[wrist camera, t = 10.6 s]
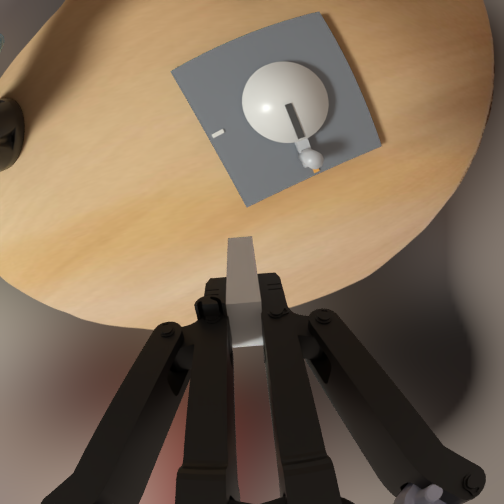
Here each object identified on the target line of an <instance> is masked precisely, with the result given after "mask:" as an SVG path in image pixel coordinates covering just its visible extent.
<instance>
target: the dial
mask: <svg viewBox="0 0 504 504" xmlns="http://www.w3.org/2000/svg"><path fill="white" fill-rule="evenodd" d="M242 107H243V112H244V114H245V117H246V119H247V121H248V122H249V124H250V125H251V126H252V127H253V129H254V130H255V131H257V132H258V133H259V134H261V135H262V136H264V137H266V138H268V139H270V140H273V141H276V142H281V143H294V142H295V145H296V148H297V150H298V159H299V160H300V161H301V162H302V164H303V166H304V167H305V168H306V167H309V168H311V169H319V168H320V167H321V166H322V165H323V162H324V158H323V156H322V154H320V153H319V152H317V151H315V150H312V149H311V146H310V143H309V141H308V138H309V137H310V136H312V135H313V134H315V133H316V132H317V131H318V130H319V129H320V127H321V126H322V125H323V123H324V121H325V119H326V117H327V113H328V107H329V101H328V95H327V91H326V89H325V87H324V85H323V83H322V81H321V80H320V79H319V78H318V76H317V75H316V74H315V73H314V72H312V71H311V70H310V69H308V68H306V67H304V66H302V65H300V64H297V63H293V62H274V63H270V64H268V65H265V66H263V67H261V68H260V69H258V70H257V71H256V72H255V73H254V74H253V75H252V76H251V77H250V78H249V80H248V81H247V83H246V85H245V88H244V91H243V95H242Z"/></svg>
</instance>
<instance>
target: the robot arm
mask: <svg viewBox="0 0 504 504" xmlns="http://www.w3.org/2000/svg"><path fill="white" fill-rule="evenodd" d="M3 45H4V37H3V35H2V34H0V52H1V50H2V47H3ZM23 138H24V119H23V114H22V111H21V108H20V106H19V105H18V103H17V102H16V101H14V100H13V99H10V98H5V99H0V172H1V171H3V170H6V169H8V168H9V167H11V166H12V165H13V164H14V162H15V161H16V159H17V158H18V156H19V153H20V151H21V148H22V144H23ZM194 306H195V310H196V314H197V318H198V320H197V321H196V322H195V323H193V324H191V325H188V326H184V327H181V326H180V325H179V324H178V323H175V322H165V323H162V324H160V325H158V326H157V327H156V328H155V329H154V331H153V333H152V334H151V336H150V338H149V339H148V341H147V342H146V344H145V346H144V347H143V349H142V351H141V352H140V354H139V356H138V357H137V359H136V361H135V362H134V364H133V366H132V367H131V369H130V371H129V372H128V374H127V376H126V378H125V379H124V381H123V383H122V384H121V386H120V388H119V390H118V391H117V393H116V395H115V397H114V398H113V400H112V402H111V404H110V406H109V407H108V409H107V411H106V412H105V415H104V416H103V418H102V420H101V421H100V423H99V425H98V427H97V429H96V431H95V433H94V434H93V436H92V438H91V440H90V442H89V444H88V446H87V448H86V449H85V451H84V453H83V455H82V457H81V459H80V461H79V463H78V465H77V467H76V469H75V471H74V473H73V474H72V475H71V476H70V477H68V478H67V479H66V480H65V481H64V482H63V483H62V484H60V485H59V486H58V487H57V488H56V489H55V490H54V491H52V492H51V493H50V494H49V495H48V496H46V497H45V498H44V499H43V501H42V502H41V504H139V502H140V500H141V497H142V495H143V493H144V490H145V488H146V485H147V483H148V480H149V478H150V475H151V473H152V470H153V468H154V465H155V463H156V460H157V458H158V455H159V453H160V450H161V448H162V446H163V443H164V440H165V438H166V436H167V433H168V431H169V429H170V426H171V423H172V421H173V418H174V416H175V414H176V411H177V409H178V406H179V404H180V402H181V399H182V397H183V394H184V392H185V390H186V387H187V385H188V382H189V380H190V387H189V397H188V407H187V419H186V430H185V443H184V458H183V464H182V466H181V467H180V468H179V470H178V472H177V478H176V496H175V504H250V503H244V502H240V493H239V487H238V480H237V456H236V433H235V432H236V431H235V402H234V365H233V364H234V363H233V351H232V347H245V346H257V345H263V346H264V363H265V367H266V375H267V384H268V392H269V400H270V408H271V417H272V425H273V433H274V441H275V449H276V458H277V467H278V475H279V487H280V497H281V498H278V499H275V500H272V501H269V502H265V503H262V504H354V503H353V502H351V501H349V500H347V499H345V498H342V497H340V492H339V488H338V484H337V479H336V474H335V470H334V466H333V463H332V460H331V458H330V457H329V456H328V455H327V453H326V450H325V446H324V442H323V437H322V433H321V428H320V424H319V420H318V416H317V412H316V408H315V403H314V399H313V395H312V391H311V387H310V383H309V378H308V374H307V371H306V367H305V362H304V359H306V362H307V364H308V365H309V367H310V368H311V370H312V372H313V373H314V375H315V377H316V378H317V380H318V382H319V383H320V385H321V386H322V388H323V390H324V391H325V393H326V395H327V396H328V398H329V399H330V401H331V403H332V404H333V406H334V407H335V409H336V411H337V412H338V414H339V416H340V417H341V419H342V421H343V422H344V424H345V425H346V427H347V428H348V430H349V432H350V433H351V435H352V437H353V438H354V440H355V441H356V443H357V444H358V446H359V448H360V449H361V451H362V453H363V454H364V456H365V457H366V459H367V460H368V462H369V464H370V465H371V467H372V468H373V470H374V471H375V473H376V475H377V476H378V478H379V479H380V481H381V482H382V483H383V485H384V486H385V487H386V488H387V489H388V490H389V491H390V492H391V493H392V494H393V495H394V496H395V497H397V498H396V499H395V501H394V504H463V503H465V502H467V501H469V500H472V499H473V498H475V497H476V496H478V495H479V494H480V492H481V491H482V490H483V488H484V485H485V482H486V476H485V473H484V470H483V469H482V468H481V467H479V466H478V465H476V464H474V463H472V462H471V461H469V460H467V459H465V458H464V457H462V456H460V455H458V454H456V453H455V452H453V451H451V450H450V449H448V448H446V447H445V446H443V445H442V443H441V442H440V441H439V439H438V438H437V437H436V435H435V434H434V433H433V432H432V430H431V429H430V428H429V426H428V425H427V424H426V423H425V421H424V420H423V419H422V417H421V416H420V415H419V414H418V412H417V411H416V410H415V409H414V407H413V406H412V405H411V404H410V402H409V401H408V400H407V398H405V396H404V395H403V394H402V392H401V391H400V390H399V389H398V387H397V386H396V385H395V384H394V382H393V381H392V380H391V379H390V377H389V376H388V375H387V374H386V373H385V371H384V370H383V369H382V368H381V366H380V365H379V364H378V363H377V362H376V360H375V359H374V358H373V357H372V356H371V354H370V353H369V352H368V351H367V350H366V348H365V347H364V346H363V345H362V343H361V342H360V341H359V340H358V339H357V338H356V336H355V335H354V334H353V333H352V332H351V331H350V329H349V328H348V327H347V326H346V324H345V323H344V322H343V321H342V320H341V319H340V317H339V316H338V315H337V314H336V313H334V312H333V311H331V310H329V309H317V310H315V311H313V312H312V313H311V314H310V315H309V316H303V315H298V314H295V313H293V312H292V311H291V310H290V308H288V306H287V303H286V299H285V295H284V291H283V287H282V284H281V280H280V277H279V276H278V275H277V274H276V273H263V274H257V268H256V261H255V254H254V247H253V240H252V236H249V237H237V238H228V252H227V277H223V278H210V279H209V281H208V282H207V283H206V287H205V294H204V297H201V298H199V299H198V300H197V301H196V303H195V305H194Z"/></svg>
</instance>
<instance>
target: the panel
mask: <svg viewBox="0 0 504 504" xmlns="http://www.w3.org/2000/svg"><path fill="white" fill-rule="evenodd" d="M274 62H293V63H297V64H300V65H302V66H304V67H306V68H308V69H310V70H311V71H312V72H314V73H315V74H316V75H317V76H318V78H319V79H320V80H321V81H322V83H323V85H324V87H325V89H326V91H327V95H328V101H329V107H328V113H327V117H326V119H325V121H324V123H323V125H322V126H321V127H320V129H319V130H318V131H317V132H316V133H315V134H313V135H312V136H310V137H309V138H308V141H309V143H310V146H311V149H312V150H315V151H317V152H319V153H320V154H322V156H323V158H324V162H323V165H322V166H321V167H320V168H319V169H311V168H309V167H306V168H305V167H304V166H303V164H302V162H301V161H300V160H299V159H298V150H297V148H296V145H295V142H294V143H281V142H276V141H273V140H270V139H268V138H266V137H264V136H262V135H261V134H259V133H258V132H257V131H255V130H254V129H253V127H252V126H251V125H250V124H249V122H248V121H247V119H246V117H245V114H244V112H243V107H242V95H243V91H244V88H245V85H246V83H247V81H248V80H249V78H250V77H251V76H252V75H253V74H254V73H255V72H256V71H257V70H258V69H260V68H261V67H263V66H265V65H268V64H270V63H274ZM171 73H172V75H173V77H174V78H175V80H176V82H177V84H178V85H179V87H180V89H181V90H182V92H183V94H184V96H185V97H186V99H187V101H188V103H189V104H190V106H191V108H192V110H193V111H194V113H195V115H196V117H197V118H198V120H199V122H200V124H201V126H202V127H203V129H204V131H205V133H206V134H207V136H208V138H209V140H210V142H211V143H212V145H213V147H214V149H215V150H216V152H217V154H218V156H219V158H220V159H221V161H222V163H223V165H224V167H225V168H226V170H227V172H228V174H229V176H230V178H231V179H232V181H233V183H234V185H235V187H236V188H237V190H238V192H239V194H240V196H241V198H242V199H243V201H244V203H245V205H246V207H249V206H251V205H253V204H255V203H257V202H259V201H261V200H263V199H265V198H267V197H269V196H272V195H274V194H276V193H278V192H280V191H282V190H284V189H286V188H288V187H290V186H293V185H295V184H297V183H299V182H301V181H303V180H306V179H308V178H310V177H312V176H314V175H316V174H319V173H321V172H323V171H325V170H328V169H330V168H332V167H334V166H337V165H339V164H341V163H343V162H346V161H348V160H350V159H353V158H355V157H357V156H359V155H362V154H364V153H367V152H369V151H371V150H374V149H376V148H378V147H381V143H380V140H379V137H378V134H377V131H376V128H375V125H374V123H373V120H372V117H371V115H370V112H369V110H368V107H367V105H366V102H365V100H364V97H363V95H362V93H361V90H360V88H359V86H358V84H357V81H356V79H355V77H354V75H353V73H352V71H351V68H350V66H349V64H348V62H347V60H346V58H345V56H344V54H343V52H342V50H341V49H340V47H339V45H338V43H337V41H336V39H335V37H334V36H333V34H332V32H331V30H330V29H329V27H328V25H327V24H326V22H325V20H324V19H323V17H322V15H321V14H320V12H316V13H311V14H307V15H304V16H300V17H296V18H293V19H289V20H286V21H283V22H280V23H277V24H274V25H271V26H268V27H265V28H262V29H259V30H257V31H254V32H251V33H249V34H246V35H244V36H241V37H239V38H236V39H234V40H232V41H229V42H227V43H225V44H223V45H220V46H218V47H216V48H214V49H212V50H210V51H208V52H206V53H204V54H202V55H200V56H198V57H196V58H194V59H192V60H190V61H188V62H186V63H184V64H183V65H181V66H179V67H177V68H176V69H174V70H172V71H171Z"/></svg>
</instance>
